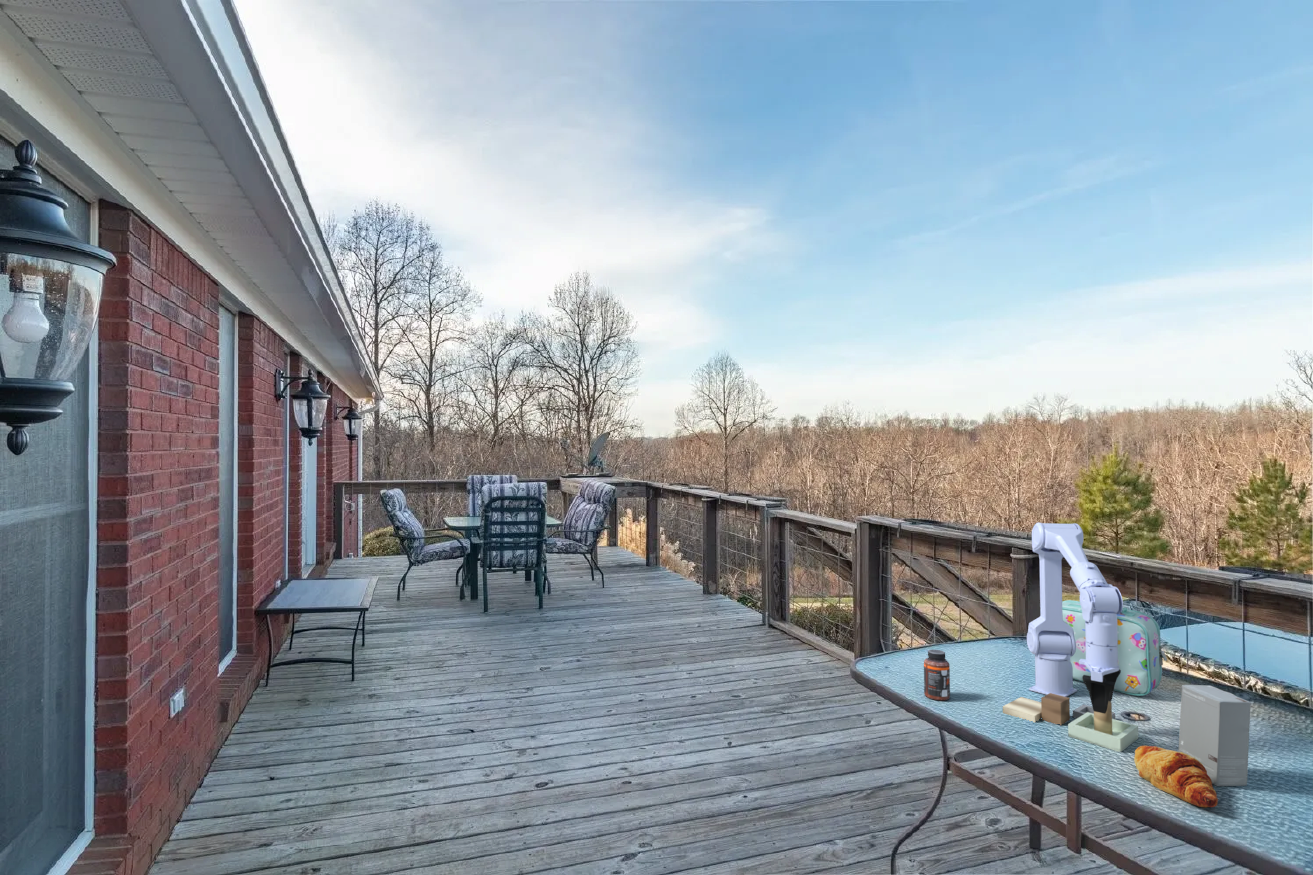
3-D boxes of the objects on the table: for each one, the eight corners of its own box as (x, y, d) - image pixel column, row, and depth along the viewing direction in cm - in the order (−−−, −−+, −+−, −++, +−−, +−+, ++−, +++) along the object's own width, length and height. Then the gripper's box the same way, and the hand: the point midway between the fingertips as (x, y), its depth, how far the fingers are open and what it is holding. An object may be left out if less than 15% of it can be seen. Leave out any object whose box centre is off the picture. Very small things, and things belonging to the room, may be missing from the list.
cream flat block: (1021, 704, 158) (1021, 696, 158) (1052, 713, 152) (1052, 705, 152) (1002, 714, 151) (1002, 706, 151) (1034, 724, 146) (1034, 715, 146)
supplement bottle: (952, 702, 158) (952, 655, 158) (926, 700, 159) (926, 654, 159) (946, 693, 164) (946, 648, 164) (921, 691, 165) (921, 647, 165)
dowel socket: (1083, 710, 153) (1083, 704, 153) (1115, 719, 148) (1115, 712, 148) (1072, 717, 149) (1072, 710, 149) (1105, 726, 144) (1104, 719, 144)
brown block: (1050, 714, 150) (1050, 692, 151) (1069, 720, 147) (1069, 697, 147) (1041, 719, 147) (1041, 697, 147) (1061, 725, 144) (1060, 702, 144)
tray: (1087, 723, 145) (1087, 711, 145) (1138, 738, 138) (1138, 725, 138) (1068, 736, 139) (1068, 724, 139) (1120, 752, 131) (1120, 739, 131)
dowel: (1099, 730, 140) (1098, 697, 141) (1115, 735, 138) (1114, 702, 138) (1091, 733, 139) (1090, 700, 139) (1107, 738, 136) (1106, 704, 136)
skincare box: (1176, 766, 125) (1174, 683, 126) (1210, 764, 126) (1208, 682, 126) (1218, 788, 117) (1216, 699, 117) (1254, 786, 117) (1252, 698, 118)
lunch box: (1172, 695, 163) (1170, 610, 163) (1156, 704, 157) (1154, 615, 158) (1058, 667, 185) (1056, 592, 186) (1040, 674, 179) (1039, 596, 180)
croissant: (1124, 775, 129) (1103, 738, 130) (1172, 754, 128) (1150, 717, 129) (1198, 834, 108) (1172, 789, 109) (1256, 809, 107) (1229, 764, 108)
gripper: (1084, 632, 147) (1085, 692, 147) (1073, 646, 136) (1074, 711, 136) (1122, 638, 142) (1124, 700, 142) (1114, 653, 131) (1115, 720, 131)
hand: (1102, 706), depth 138 cm, fingers open, 7 cm apart
